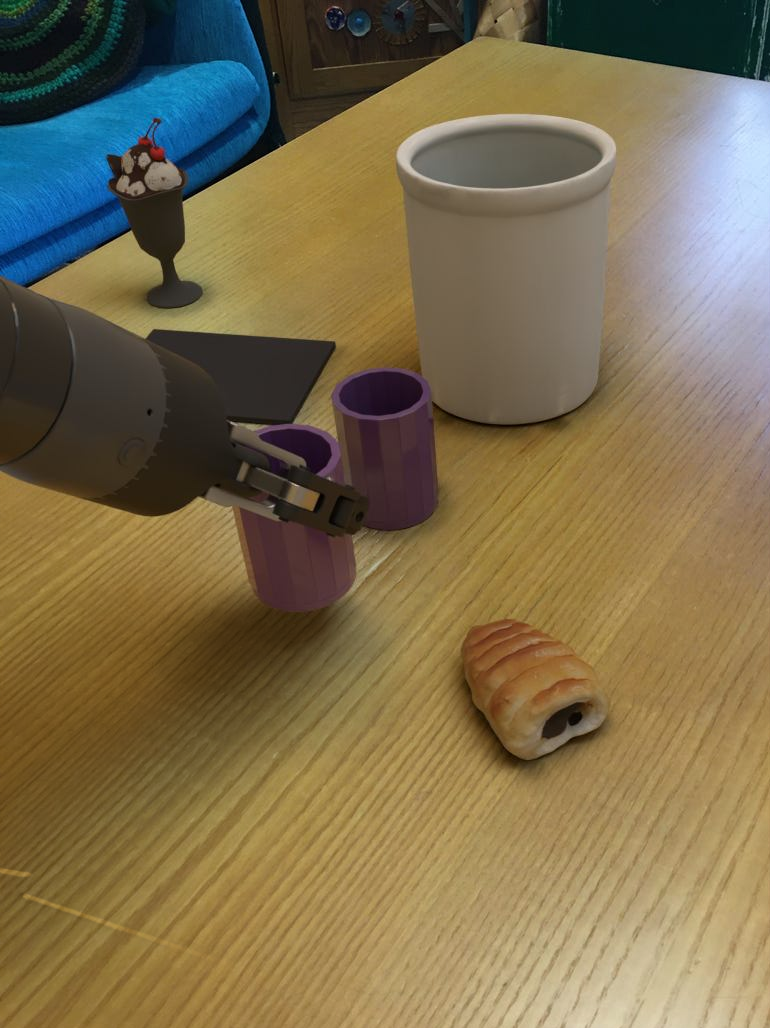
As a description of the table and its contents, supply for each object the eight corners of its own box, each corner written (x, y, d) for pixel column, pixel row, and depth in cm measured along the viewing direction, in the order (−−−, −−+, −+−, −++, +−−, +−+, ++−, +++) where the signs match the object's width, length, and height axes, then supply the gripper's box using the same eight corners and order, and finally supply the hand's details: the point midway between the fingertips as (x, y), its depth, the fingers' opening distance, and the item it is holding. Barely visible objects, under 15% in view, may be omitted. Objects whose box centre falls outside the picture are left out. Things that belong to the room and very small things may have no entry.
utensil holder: (410, 339, 91) (391, 116, 79) (588, 325, 92) (597, 103, 80) (419, 437, 80) (399, 198, 68) (620, 422, 81) (636, 182, 69)
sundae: (225, 297, 97) (188, 120, 87) (154, 320, 95) (107, 140, 84) (195, 271, 101) (156, 98, 91) (126, 292, 99) (78, 117, 88)
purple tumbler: (336, 525, 73) (319, 415, 67) (361, 471, 78) (347, 364, 72) (426, 534, 72) (417, 423, 66) (446, 479, 77) (439, 370, 71)
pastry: (432, 666, 63) (428, 617, 61) (531, 624, 66) (532, 575, 63) (518, 774, 57) (517, 725, 55) (623, 724, 60) (628, 675, 57)
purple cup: (235, 605, 63) (206, 484, 57) (270, 538, 67) (246, 419, 61) (339, 618, 62) (320, 495, 56) (368, 549, 66) (353, 428, 60)
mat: (92, 410, 85) (90, 404, 84) (154, 334, 93) (153, 328, 93) (290, 426, 82) (289, 420, 82) (336, 346, 90) (335, 341, 90)
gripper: (247, 376, 44) (439, 474, 59) (16, 287, 50) (244, 396, 65) (178, 550, 44) (386, 603, 59) (-42, 441, 51) (197, 514, 66)
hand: (311, 495), depth 62 cm, fingers closed on purple cup, 6 cm apart
